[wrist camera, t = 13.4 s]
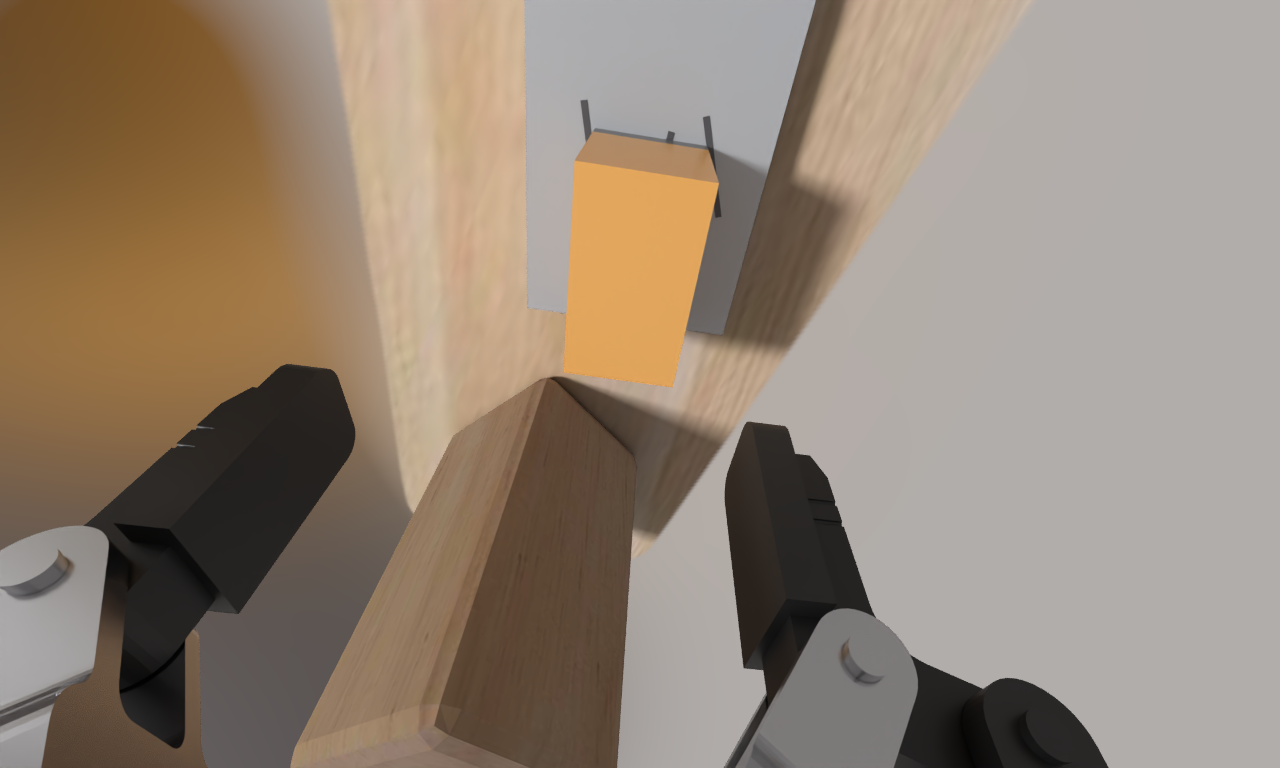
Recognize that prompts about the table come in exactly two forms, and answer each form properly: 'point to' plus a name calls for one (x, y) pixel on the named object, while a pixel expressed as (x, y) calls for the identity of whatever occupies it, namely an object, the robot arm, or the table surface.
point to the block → (495, 607)
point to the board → (656, 115)
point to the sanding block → (635, 254)
